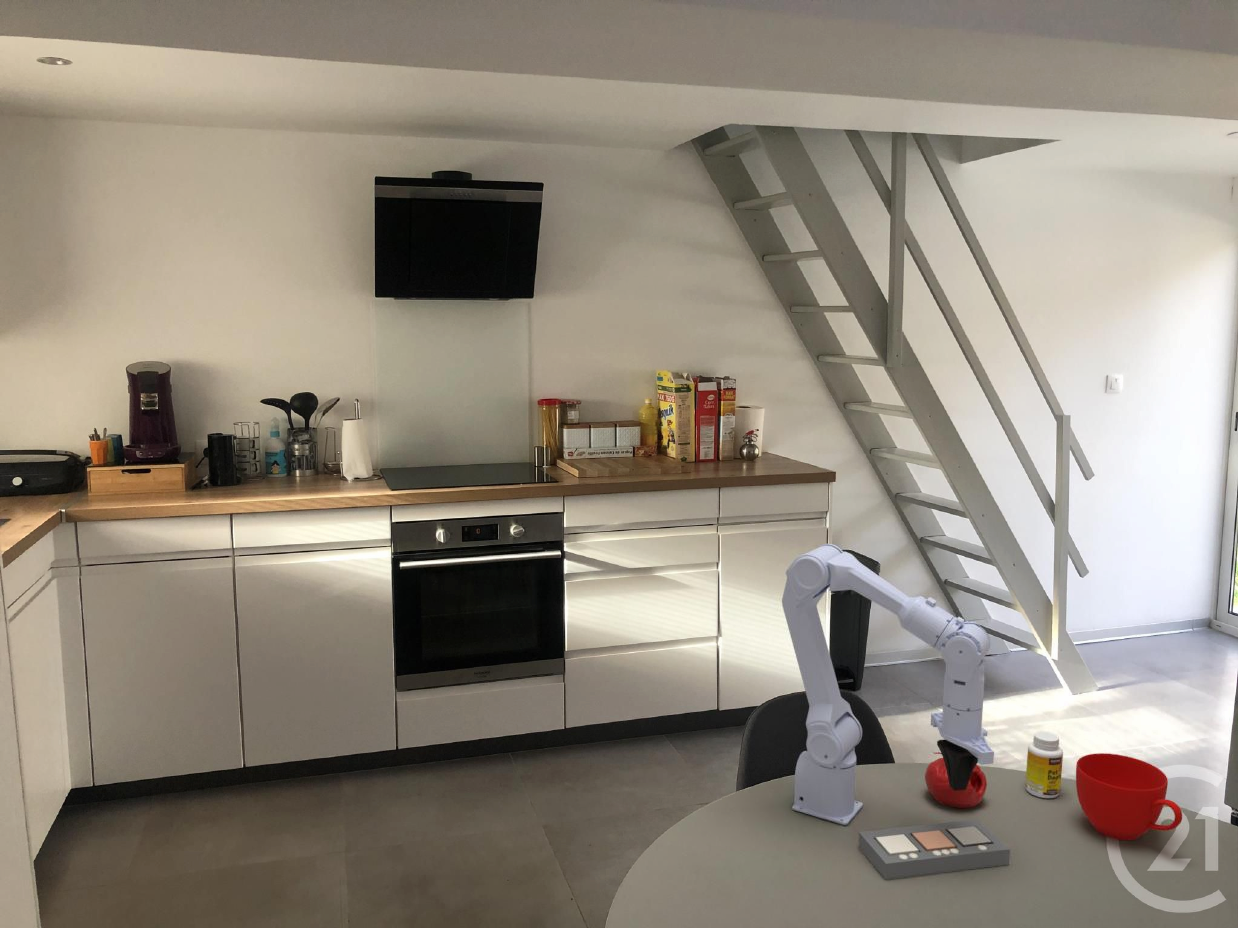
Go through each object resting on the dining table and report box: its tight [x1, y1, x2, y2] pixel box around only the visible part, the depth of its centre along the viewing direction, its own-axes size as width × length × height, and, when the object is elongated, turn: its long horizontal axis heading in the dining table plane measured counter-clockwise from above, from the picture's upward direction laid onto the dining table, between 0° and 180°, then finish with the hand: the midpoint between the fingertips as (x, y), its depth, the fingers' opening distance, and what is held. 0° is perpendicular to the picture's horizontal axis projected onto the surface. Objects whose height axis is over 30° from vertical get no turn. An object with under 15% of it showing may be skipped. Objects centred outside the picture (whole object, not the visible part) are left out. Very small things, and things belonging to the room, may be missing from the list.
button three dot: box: [912, 830, 955, 851], centre depth 149 cm, size 5×5×2 cm
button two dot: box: [876, 834, 919, 856], centre depth 148 cm, size 5×5×2 cm
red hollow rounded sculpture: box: [924, 751, 988, 809], centre depth 167 cm, size 10×10×9 cm
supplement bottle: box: [1024, 731, 1064, 799], centre depth 169 cm, size 6×6×10 cm
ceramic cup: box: [1075, 752, 1183, 841], centre depth 155 cm, size 13×17×10 cm
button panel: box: [857, 818, 1011, 881], centre depth 150 cm, size 20×9×3 cm, turn 102°
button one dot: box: [948, 826, 991, 847], centre depth 151 cm, size 5×5×2 cm
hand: (958, 788), depth 151 cm, fingers closed
